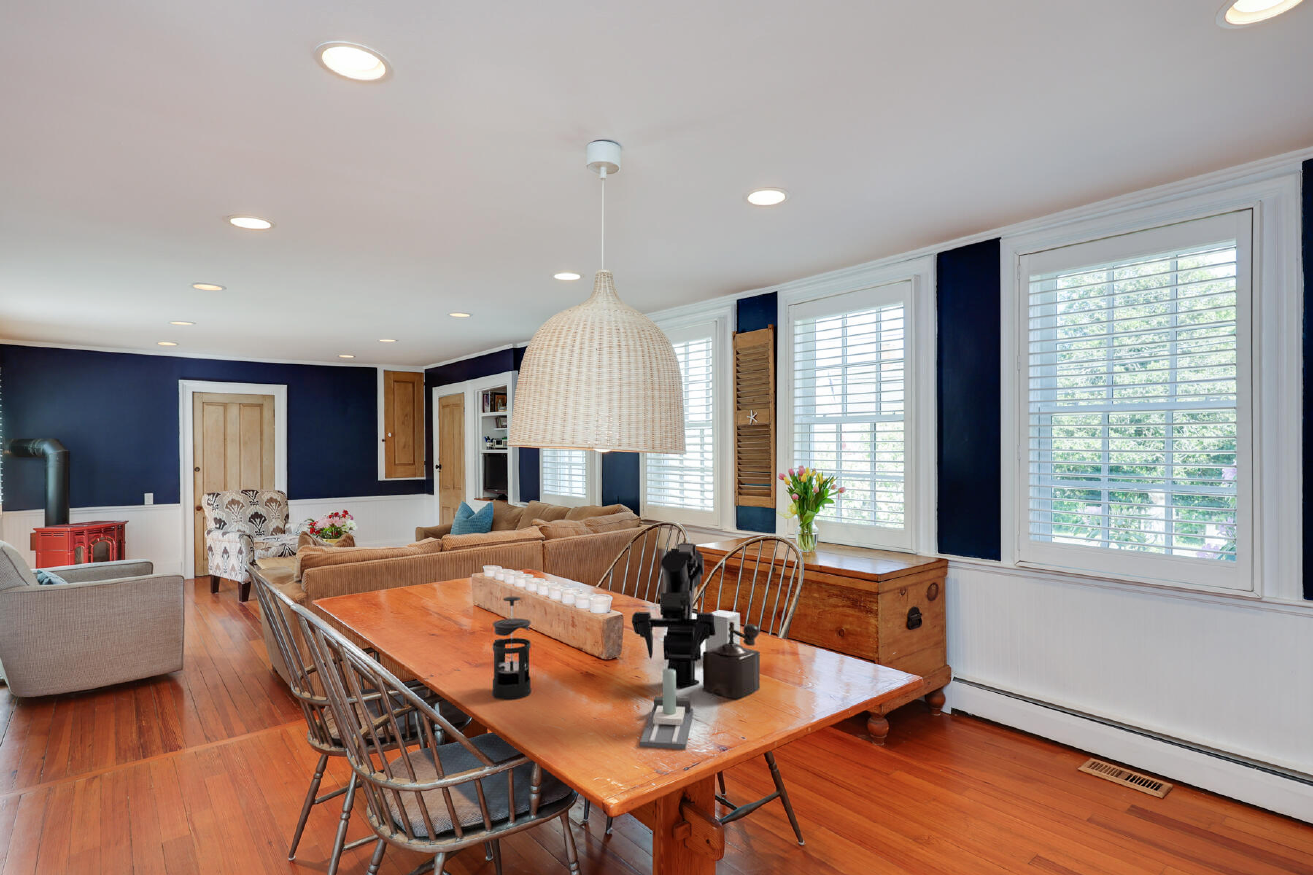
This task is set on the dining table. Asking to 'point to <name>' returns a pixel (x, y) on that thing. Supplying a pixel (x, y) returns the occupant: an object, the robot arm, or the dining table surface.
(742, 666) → the manual coffee grinder
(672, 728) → the rail track
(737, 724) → the dining table surface
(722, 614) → the supplement box
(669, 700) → the carriage
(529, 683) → the french press
